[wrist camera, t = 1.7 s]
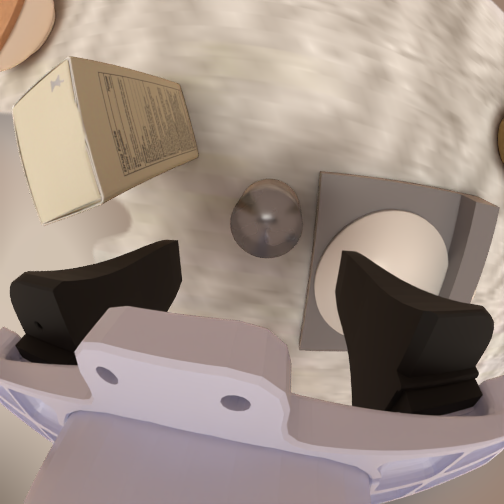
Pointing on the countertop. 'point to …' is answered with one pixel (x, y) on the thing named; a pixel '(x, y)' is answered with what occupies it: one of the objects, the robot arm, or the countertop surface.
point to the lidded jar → (23, 29)
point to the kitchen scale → (393, 243)
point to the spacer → (267, 219)
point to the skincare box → (97, 134)
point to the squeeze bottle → (501, 140)
